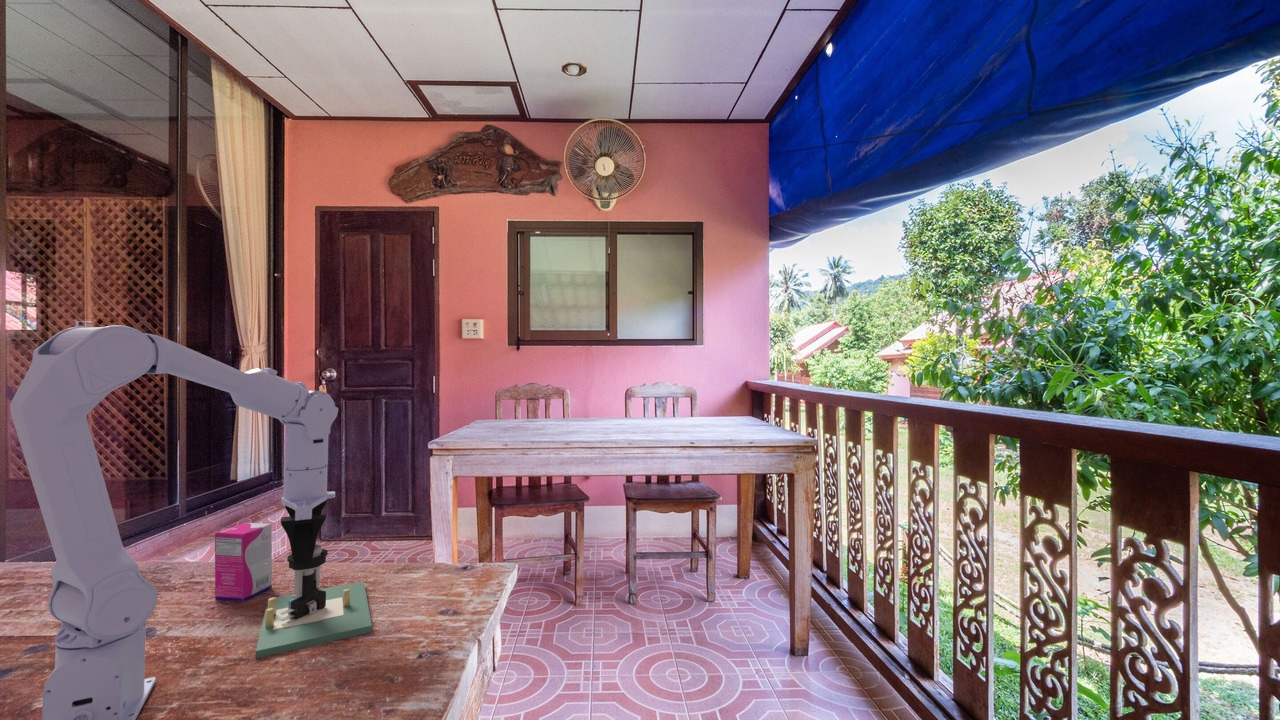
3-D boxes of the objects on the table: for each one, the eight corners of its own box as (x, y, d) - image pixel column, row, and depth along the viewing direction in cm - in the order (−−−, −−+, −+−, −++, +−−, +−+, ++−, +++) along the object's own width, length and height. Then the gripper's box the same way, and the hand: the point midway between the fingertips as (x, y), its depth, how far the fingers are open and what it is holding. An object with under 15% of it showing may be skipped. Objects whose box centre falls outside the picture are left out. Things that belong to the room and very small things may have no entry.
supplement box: (243, 585, 93) (245, 521, 93) (272, 588, 92) (274, 523, 92) (212, 599, 87) (214, 531, 87) (242, 602, 86) (244, 533, 86)
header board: (371, 632, 77) (372, 608, 77) (255, 658, 70) (256, 632, 70) (363, 587, 93) (364, 567, 93) (268, 604, 85) (268, 583, 85)
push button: (293, 627, 76) (295, 559, 76) (268, 620, 78) (270, 554, 78) (334, 607, 82) (335, 545, 83) (310, 602, 84) (311, 540, 84)
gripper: (336, 473, 76) (334, 565, 76) (335, 457, 89) (333, 536, 89) (278, 477, 73) (276, 574, 73) (285, 460, 85) (283, 543, 85)
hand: (303, 554), depth 80 cm, fingers open, 7 cm apart
